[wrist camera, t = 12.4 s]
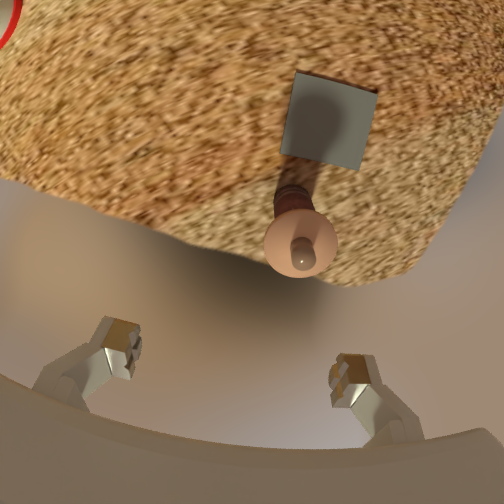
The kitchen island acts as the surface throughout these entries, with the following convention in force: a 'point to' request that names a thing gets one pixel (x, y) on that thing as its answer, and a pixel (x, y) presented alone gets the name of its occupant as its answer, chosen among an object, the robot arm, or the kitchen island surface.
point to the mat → (328, 121)
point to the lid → (300, 243)
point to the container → (8, 18)
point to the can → (291, 199)
